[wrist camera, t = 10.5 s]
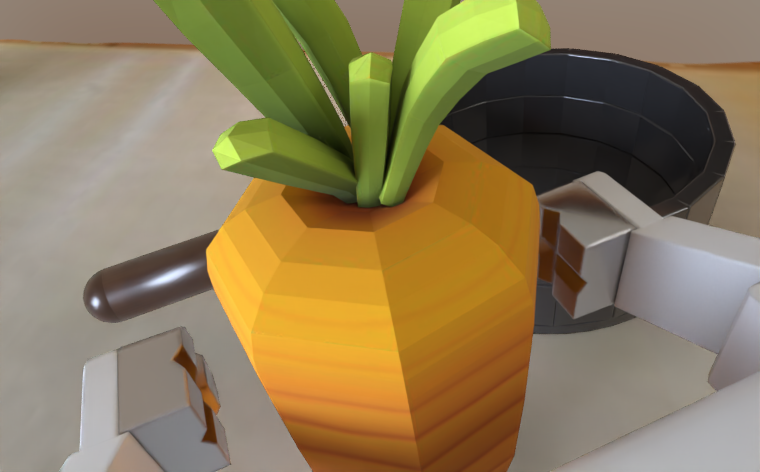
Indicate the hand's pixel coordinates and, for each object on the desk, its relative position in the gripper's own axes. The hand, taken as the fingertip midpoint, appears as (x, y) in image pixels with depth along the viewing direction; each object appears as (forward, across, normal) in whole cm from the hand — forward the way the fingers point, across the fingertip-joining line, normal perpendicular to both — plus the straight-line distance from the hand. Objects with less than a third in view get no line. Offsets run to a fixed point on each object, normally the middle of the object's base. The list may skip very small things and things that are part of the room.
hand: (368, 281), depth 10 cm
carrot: (-1, 0, +9) cm, 9 cm away
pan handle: (+8, +2, +6) cm, 10 cm away
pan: (+8, -9, +8) cm, 15 cm away
